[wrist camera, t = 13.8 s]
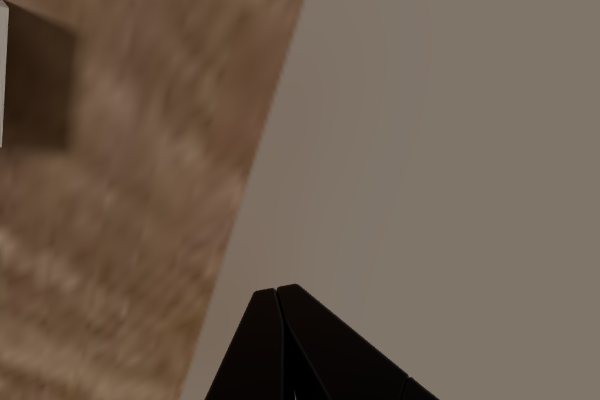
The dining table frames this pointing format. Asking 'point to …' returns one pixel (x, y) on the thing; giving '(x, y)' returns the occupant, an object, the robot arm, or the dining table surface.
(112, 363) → the dining table surface
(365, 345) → the robot arm
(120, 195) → the dining table surface
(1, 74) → the domino
